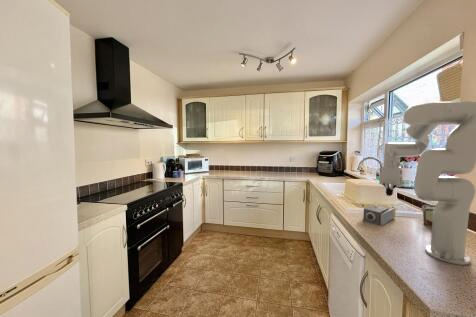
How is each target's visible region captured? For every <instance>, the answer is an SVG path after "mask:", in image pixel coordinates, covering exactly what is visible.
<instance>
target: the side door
mask: <svg viewBox="0 0 476 317" xmlns="http://www.w3.org/2000/svg"><path fill="white" fill-rule="evenodd" d="M396 210H397V209H396V207H391V208H389V210H388V211H386V212H384V213H381V219H380V225H379V226H381V227H382V226H383V225H384V224H387V223H389V222H390V221H391V220H393V219H395V218H396Z"/></svg>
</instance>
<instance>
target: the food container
mask: <svg viewBox="0 0 476 317" xmlns="http://www.w3.org/2000/svg"><path fill="white" fill-rule="evenodd" d="M435 206H436V204H424V205H422V207H421V211H422V216H423V217H422V218H423V225H424V226H425V227H432V223H433V212H434V208H435Z"/></svg>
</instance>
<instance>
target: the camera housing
mask: <svg viewBox="0 0 476 317" xmlns="http://www.w3.org/2000/svg"><path fill="white" fill-rule="evenodd" d="M389 209H390V208H389V207H385V206H380V205H376V204H371V205H369V206H367V207H365V208H363V215H362V216H363V220H362V221H363V222H367V223H370V224H373V225H377V226H381V225H380V219H381V213H384V212H386V211H388V210H389Z"/></svg>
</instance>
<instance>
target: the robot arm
mask: <svg viewBox="0 0 476 317" xmlns="http://www.w3.org/2000/svg"><path fill="white" fill-rule="evenodd" d="M402 119H403V122H404V123H405V124H407V125H408V126H407V128H406V134H407V135H408V136H409V137H410V138H412V139H413V140H415V142H386V143H385V144H384V150H383V151H384V152H383V165H382V166H381V168H380V172H379V178H378V179H379V181H378V182H379V183H378V184H379V185H382V186H383V187H384V188H385V194H386V196H388V197H391V196H392V195H393V194H394V189H395V188H402V183H403V169H402V166H403V165H404V163H403V162H401V158H405V157H406V158H415V157H418V156H419V158H418V161H417V166H416V172H415V179H414V184H413V185H414V186H413V187H414V188H413V190H414V193H415V195H416V198H418V199H420V200H422V201H427V202H437V203H436V204H435V205H436V206H435V208H434V212H433V223H432V226H431V235H430V236H431V239H430V244H428V245H426V246H425V247H424V250H425V253H427V254H428V255H429V256H431V257H432V258H435V259H437V260H440V261H443V262H445V263H449V264H454V265H461V266H462V265H463V266H465V265H466V266H467V265H469V264H471V258H470V257H469V256H468V255H466V244H467V233H468V225H469V215H470V210H471V206H472V203H473V200H474V198H475V196H476V187H475V185H474V183H473V182H472V181H470V180H469V179H468V178H465V177H461V176H460V177H459V176H446V175H466V174H467V175H468V174H470V173H471V172H473V171H474V168H475V167H476V101H470V100H469V101H467V100H466V101H465V100H464V101H463V100H462V101H461V100H460V101H459V100H458V101H435V102H426V103H420V104H412V105H410V106H409V107H408V108H407V109H406V110H405V111H404V113H403V116H402ZM440 125H457V126H456V127H455V128H453V129H452V130H451V132H449V134H448V136H447V138H446V141H445V142H446V143H445V146H444V148H431V149H428V147H429V144H430V139H429V135H430V134H431V133H432V132H433V131H434V130H435V129H436V128H437V127H438V126H440ZM427 149H428V150H427ZM441 175H445V176H441Z"/></svg>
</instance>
